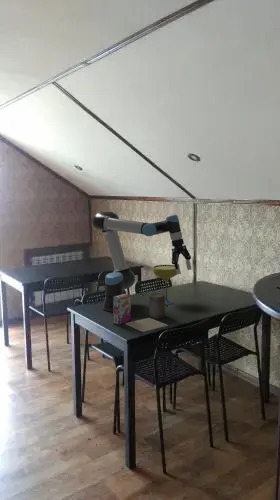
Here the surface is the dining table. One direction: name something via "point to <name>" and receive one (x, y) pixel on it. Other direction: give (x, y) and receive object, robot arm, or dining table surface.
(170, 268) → the cocktail glass
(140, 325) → the mat
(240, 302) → the dining table surface
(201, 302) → the dining table surface
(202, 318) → the dining table surface
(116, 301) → the candy bar box
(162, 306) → the pillar candle
